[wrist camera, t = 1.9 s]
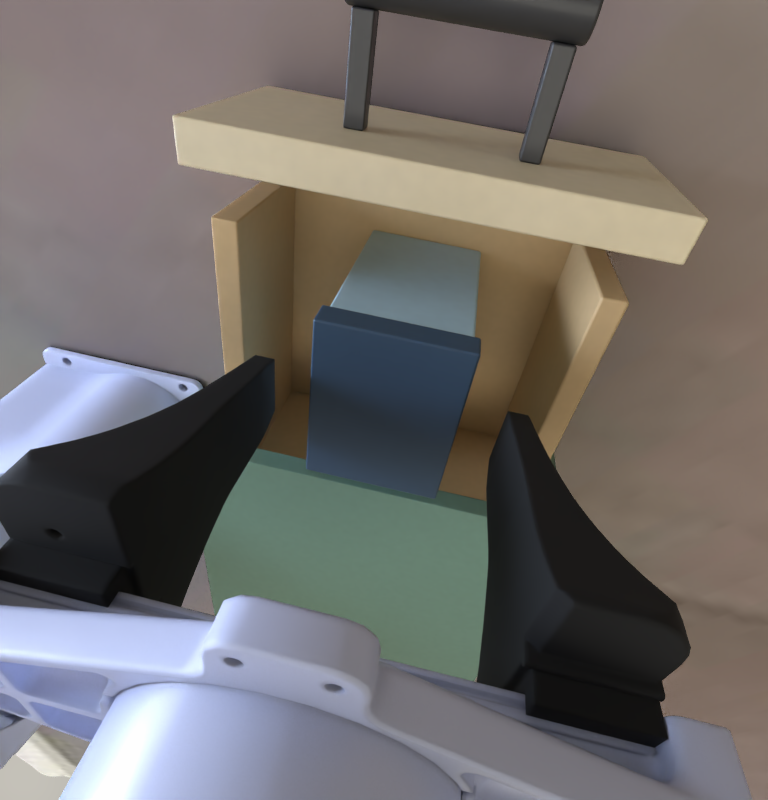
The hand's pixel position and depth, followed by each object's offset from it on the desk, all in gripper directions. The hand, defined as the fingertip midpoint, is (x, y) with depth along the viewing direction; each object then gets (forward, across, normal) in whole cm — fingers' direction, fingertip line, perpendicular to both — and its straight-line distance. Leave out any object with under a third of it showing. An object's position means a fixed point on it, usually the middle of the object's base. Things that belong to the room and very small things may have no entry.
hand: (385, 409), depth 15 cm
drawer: (+8, 0, -2) cm, 8 cm away
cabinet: (+9, 0, +12) cm, 15 cm away
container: (+7, 0, 0) cm, 7 cm away
